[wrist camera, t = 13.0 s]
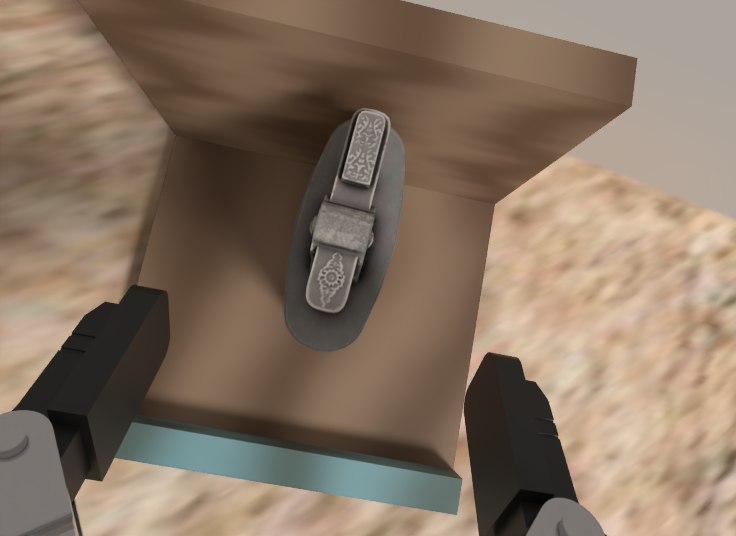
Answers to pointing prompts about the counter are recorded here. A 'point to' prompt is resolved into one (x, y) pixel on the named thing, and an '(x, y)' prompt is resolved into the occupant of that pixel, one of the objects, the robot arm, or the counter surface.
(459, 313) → the wall holder
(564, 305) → the counter surface
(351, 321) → the lighter
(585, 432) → the counter surface
